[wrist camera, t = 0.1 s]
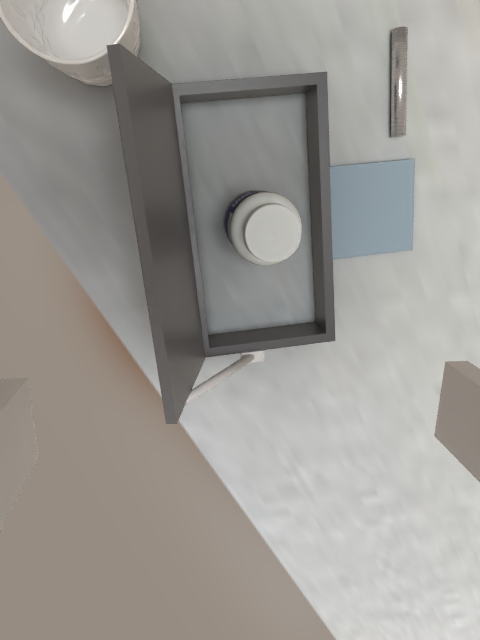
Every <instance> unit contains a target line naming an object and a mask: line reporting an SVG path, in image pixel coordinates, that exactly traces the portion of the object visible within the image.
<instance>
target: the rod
mask: <svg viewBox="0 0 480 640" xmlns="http://www.w3.org/2000/svg"><path fill="white" fill-rule="evenodd" d="M407 34H408V27H399V28H395V29H393V30H392V73H391V137H394V136H403V135H406V95H407Z"/></svg>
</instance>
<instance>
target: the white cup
mask: <svg viewBox="0 0 480 640" xmlns="http://www.w3.org/2000/svg"><path fill="white" fill-rule="evenodd" d="M0 17H1V19H2V21H3V22H4V24H5V25H6V27H7V28H8V30H9V31H10V32H11V33H12V35H13V36H14V37H15V38H16V39H17V40H18V41H19V42H20V43H21V44H22V45H24V46H25V47H26V48H27V49H29V50H30V51H32V52H33V53H35V54H36V55H38V56H39V57H40V58H42V59H43V60H45V61H46V62H48V63H49V64H50V65H52V66H53V67H55V68H57V69H58V70H60V71H62V72H64V73H65V74H67V75H69V76H71V77H73V78H76V79H78V80H79V81H81V82H83V83H84V84H89V85H97V86H104V87H105V86H108V85H110V84H113V83H112V77H111V71H110V64H109V58H108V52H107V45H113V44H121V45H122V46H124V47H125V48H126V49H127V50H129V51H130V52H131V53H133V54H134V55H135V56H137V57H138V53H139V49H140V45H141V43H140V37H139V36H140V24H139V13H138V7H137V0H0Z"/></svg>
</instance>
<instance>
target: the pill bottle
mask: <svg viewBox="0 0 480 640" xmlns="http://www.w3.org/2000/svg"><path fill="white" fill-rule="evenodd" d="M224 227H225V232H226V234H227V237H228V239H229V240H230V242H231V243H232V245H233V246H234V248H235V249H236V250H237V252H238V253H239V254H240V255H241V256H242V257H243V258H245V259H246V260H248V261H249V262H252V263H254V264H258V265H272V264H276V263H279V262H281V261H283V260H285V259H287V258H288V257H290V256H291V255H292V254H293V253H294V252H295V251H296V249H297V248H298V246H299V244H300V240H301V234H302V224H301V219H300V215H299V213H298V211H297V209H296V208H295V206H294V205H293V204H292V203H291V202H290V201H289V200H288V199H287V198H285V197H283V196H281V195H279V194H276V193H272V192H265V191H249V192H246V193H243V194H241V195H239V196H238V197H236V198H235V199H234V200H233V201H232V202H231V203H230V205H229V206H228V208H227V210H226V213H225V217H224Z"/></svg>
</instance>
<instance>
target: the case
mask: <svg viewBox="0 0 480 640" xmlns="http://www.w3.org/2000/svg"><path fill="white" fill-rule="evenodd" d="M107 52H108V58H109V64H110V71H111V77H112V83H113V90H114V96H115V102H116V109H117V115H118V121H119V128H120V134H121V140H122V147H123V153H124V159H125V166H126V172H127V178H128V185H129V191H130V197H131V204H132V210H133V216H134V223H135V229H136V235H137V242H138V248H139V254H140V261H141V267H142V273H143V280H144V286H145V292H146V299H147V305H148V311H149V318H150V324H151V330H152V337H153V343H154V349H155V356H156V362H157V368H158V375H159V381H160V387H161V394H162V400H163V406H164V412H165V419H166V424H175V423H177V422H178V420H179V417H180V415H181V413H182V411H183V408H184V406H185V405H187V404H188V403H190V402H191V401H193V400H194V399H196V398H197V397H199V396H200V395H202V394H203V393H205V392H206V391H208V390H209V389H211V388H212V387H214V386H215V385H217V384H218V383H220V382H221V381H223V380H224V379H226V378H227V377H229V376H230V375H232V374H233V373H235V372H236V371H238V370H239V369H241V368H242V367H243V366H245V365H246V364H248V363H254V362H261V361H265V354H264V350H267V349H275V348H282V347H290V346H298V345H306V344H314V343H322V342H329V341H335V319H334V286H333V254H332V221H331V189H330V157H329V124H328V92H327V72H319V73H306V74H293V75H281V76H268V77H255V78H242V79H230V80H217V81H204V82H191V83H178V84H171V83H170V82H169V81H167V80H166V79H165V78H164V77H162V76H161V75H160V74H158V73H157V72H156V71H155V70H153V69H152V68H151V67H149V66H148V65H147V64H146V63H144V62H143V61H142V60H140V59H139V58H138V57H137V56H135V55H134V54H133V53H131V52H130V51H129V50H127V49H126V48H125V47H124V46H122V45H121V44H113V45H107ZM300 93H305V96H306V118H307V141H308V164H309V186H310V209H311V232H312V255H313V277H314V300H315V322H311V323H303V324H295V325H287V326H278V327H270V328H262V329H254V330H246V331H238V332H230V333H222V334H214V335H208V331H207V323H206V315H205V306H204V298H203V289H202V281H201V273H200V264H199V256H198V248H197V239H196V231H195V222H194V214H193V206H192V197H191V189H190V180H189V172H188V164H187V155H186V147H185V138H184V130H183V122H182V113H181V105H180V103H190V102H202V101H214V100H226V99H238V98H251V97H263V96H275V95H287V94H300ZM235 353H240V354H241V359H239V360H238V361H236V362H235V363H233V364H231V365H230V366H228V367H227V368H225V369H224V370H222V371H221V372H219V373H217V374H216V375H214V376H213V377H211V378H210V379H208V380H207V381H205V382H203V383H202V384H200V385H199V386H197V387H196V388H194V389H193V390H192V387H193V385H194V383H195V380H196V378H197V376H198V374H199V371H200V369H201V367H202V364H203V362H204V360H205V357H212V356H220V355H228V354H235Z"/></svg>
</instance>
